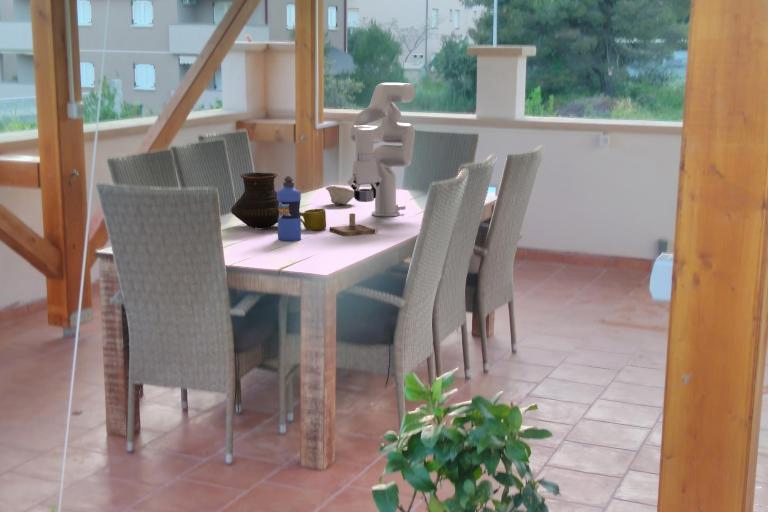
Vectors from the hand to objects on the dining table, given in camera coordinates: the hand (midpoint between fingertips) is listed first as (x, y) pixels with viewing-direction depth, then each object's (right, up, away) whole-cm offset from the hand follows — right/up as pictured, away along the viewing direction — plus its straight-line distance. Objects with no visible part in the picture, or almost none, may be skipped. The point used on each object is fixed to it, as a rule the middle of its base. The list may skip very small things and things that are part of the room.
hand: (365, 198), depth 445 cm
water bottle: (-29, -18, -32) cm, 47 cm away
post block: (-5, -15, -15) cm, 21 cm away
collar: (0, -1, 0) cm, 1 cm away
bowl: (-13, 0, +60) cm, 61 cm away
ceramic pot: (-44, -13, -5) cm, 46 cm away
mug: (-22, -14, -8) cm, 27 cm away
